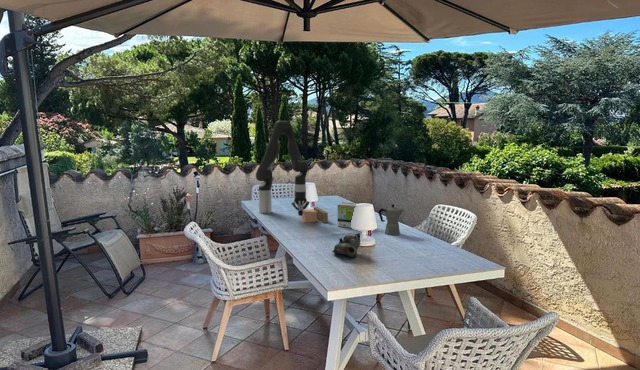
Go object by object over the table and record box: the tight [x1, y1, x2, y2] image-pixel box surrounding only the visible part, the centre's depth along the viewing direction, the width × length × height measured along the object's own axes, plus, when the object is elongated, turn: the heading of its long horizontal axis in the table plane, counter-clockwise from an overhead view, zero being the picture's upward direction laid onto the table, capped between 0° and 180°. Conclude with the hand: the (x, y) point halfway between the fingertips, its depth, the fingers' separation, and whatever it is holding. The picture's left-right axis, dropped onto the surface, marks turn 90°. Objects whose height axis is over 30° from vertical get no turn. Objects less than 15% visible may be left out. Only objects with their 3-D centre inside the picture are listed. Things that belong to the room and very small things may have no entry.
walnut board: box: [312, 206, 329, 224], centre depth 298 cm, size 20×3×7 cm, turn 20°
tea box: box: [336, 201, 359, 229], centre depth 279 cm, size 15×10×15 cm
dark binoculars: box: [331, 232, 361, 258], centre depth 219 cm, size 15×12×14 cm
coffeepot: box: [377, 203, 404, 236], centre depth 260 cm, size 15×9×18 cm, turn 92°
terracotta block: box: [301, 208, 318, 223], centre depth 295 cm, size 8×8×7 cm
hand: (300, 215), depth 293 cm, fingers closed
